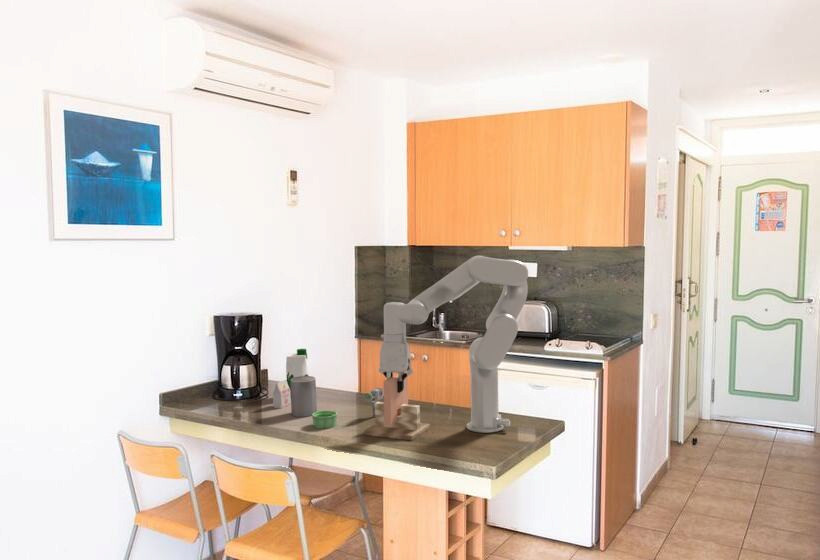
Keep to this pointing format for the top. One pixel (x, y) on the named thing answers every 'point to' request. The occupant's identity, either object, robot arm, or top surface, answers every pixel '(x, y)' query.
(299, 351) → the milk carton
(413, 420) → the slotted stand
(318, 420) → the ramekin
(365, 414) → the top surface
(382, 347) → the robot arm
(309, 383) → the pillar candle
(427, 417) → the top surface
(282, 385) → the white cardboard box
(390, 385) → the salmon pink flat slab
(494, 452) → the top surface
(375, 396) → the mechanical component
